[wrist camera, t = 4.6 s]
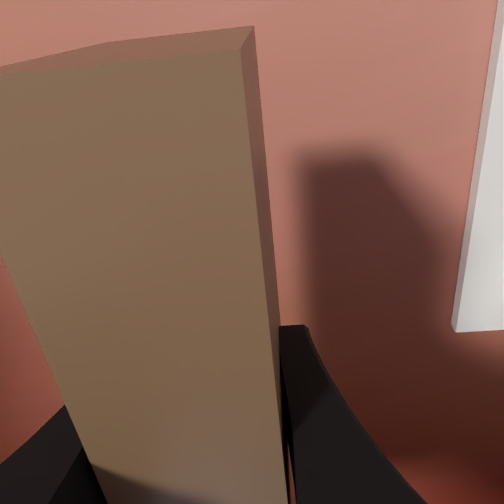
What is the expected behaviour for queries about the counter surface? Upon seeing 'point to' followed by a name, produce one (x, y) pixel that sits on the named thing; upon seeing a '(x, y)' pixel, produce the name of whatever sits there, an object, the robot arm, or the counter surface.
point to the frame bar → (151, 261)
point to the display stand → (485, 209)
